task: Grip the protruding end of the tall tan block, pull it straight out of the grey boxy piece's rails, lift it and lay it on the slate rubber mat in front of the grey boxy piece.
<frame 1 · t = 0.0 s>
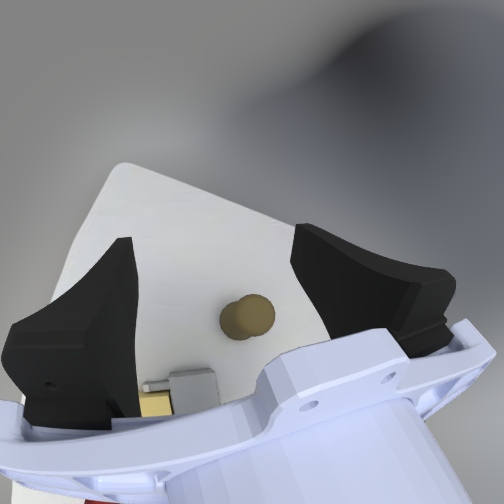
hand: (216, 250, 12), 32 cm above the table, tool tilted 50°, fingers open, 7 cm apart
onion: (107, 496, 30), on the table
cork: (239, 320, 44), on the table
grey boxy piece: (185, 400, 38), on the table
tall tan block: (146, 404, 37), on the table
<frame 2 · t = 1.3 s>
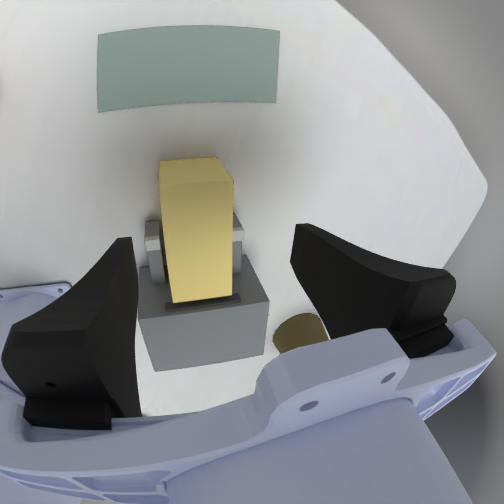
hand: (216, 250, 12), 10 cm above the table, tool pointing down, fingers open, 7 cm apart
mat: (188, 63, 16), on the table
cork: (296, 331, 33), on the table
grey boxy piece: (194, 276, 25), on the table
tall tan block: (189, 210, 22), on the table
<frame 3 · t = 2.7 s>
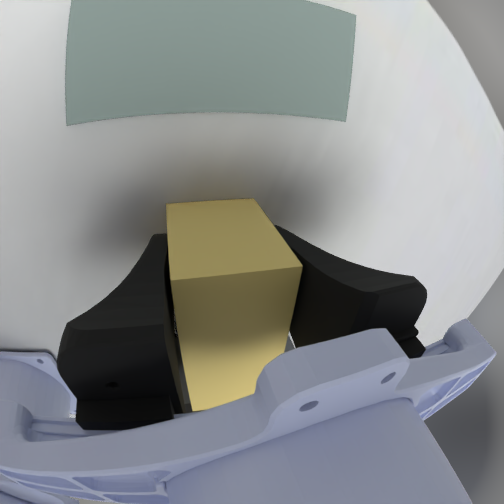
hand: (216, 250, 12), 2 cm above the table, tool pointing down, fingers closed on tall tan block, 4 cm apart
mat: (216, 47, 9), on the table
grey boxy piece: (213, 347, 18), on the table
tall tan block: (210, 273, 15), on the table, touching gripper
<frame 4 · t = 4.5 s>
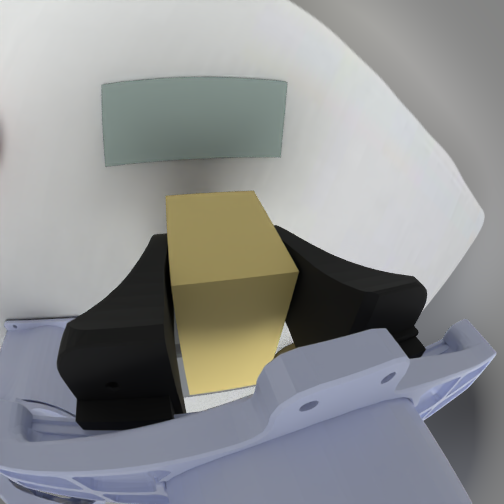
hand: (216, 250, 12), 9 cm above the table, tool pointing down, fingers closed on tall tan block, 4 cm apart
mat: (194, 117, 17), on the table
grey boxy piece: (199, 312, 26), on the table
tall tan block: (209, 260, 15), point 7 cm above the table, tilted 7°, touching gripper
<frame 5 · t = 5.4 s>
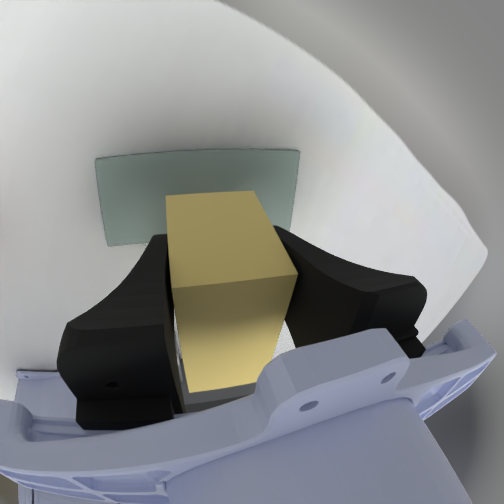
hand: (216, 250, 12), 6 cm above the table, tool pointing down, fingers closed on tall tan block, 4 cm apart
mat: (199, 194, 17), on the table
grey boxy piece: (206, 366, 26), on the table
tall tan block: (208, 259, 15), point 4 cm above the table, tilted 8°, touching gripper
when the fingers open (3 cm above the table, at t = 6.3 s): tall tan block stays where it is, resting on mat.
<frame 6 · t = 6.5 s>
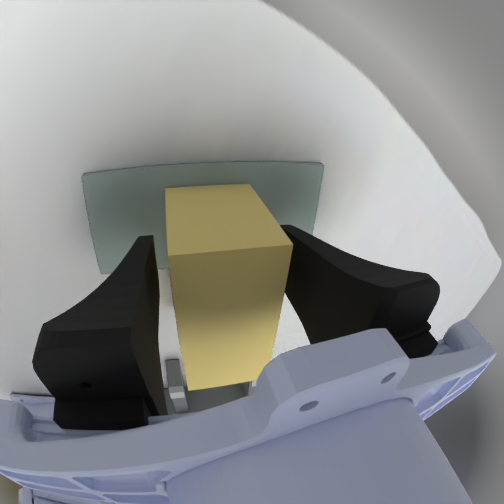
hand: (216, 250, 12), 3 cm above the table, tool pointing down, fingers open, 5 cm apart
mat: (206, 214, 15), on the table
grey boxy piece: (213, 391, 24), on the table
tall tan block: (207, 256, 16), resting on mat
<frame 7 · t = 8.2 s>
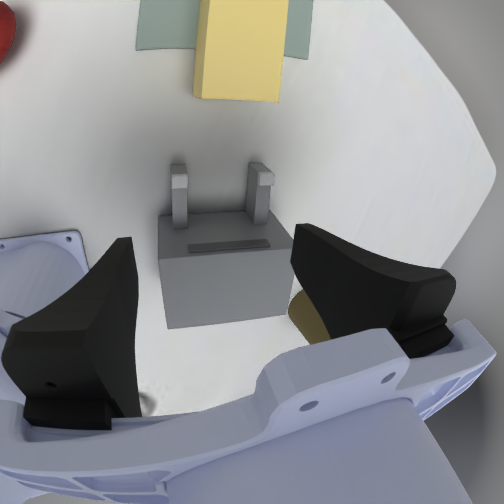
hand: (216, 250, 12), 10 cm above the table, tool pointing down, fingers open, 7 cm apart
onion: (2, 43, 10), on the table
mat: (228, 15, 15), on the table
cork: (312, 303, 32), on the table
grey boxy piece: (215, 229, 24), on the table
tall tan block: (226, 41, 16), resting on mat
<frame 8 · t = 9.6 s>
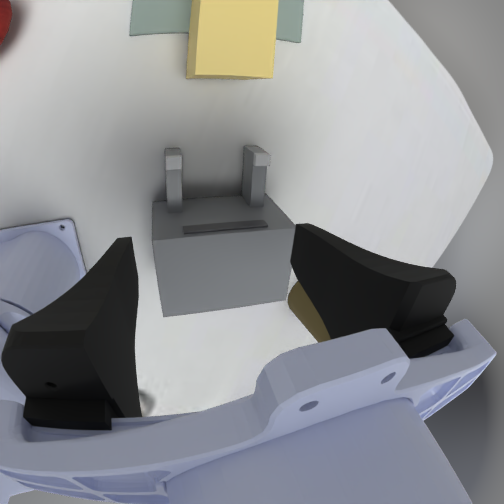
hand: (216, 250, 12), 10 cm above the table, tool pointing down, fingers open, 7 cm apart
mat: (220, 0, 14), on the table
cork: (312, 292, 31), on the table
grey boxy piece: (211, 214, 23), on the table
tall tan block: (219, 26, 15), resting on mat
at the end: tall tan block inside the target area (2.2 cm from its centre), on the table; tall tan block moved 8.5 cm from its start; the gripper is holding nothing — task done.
